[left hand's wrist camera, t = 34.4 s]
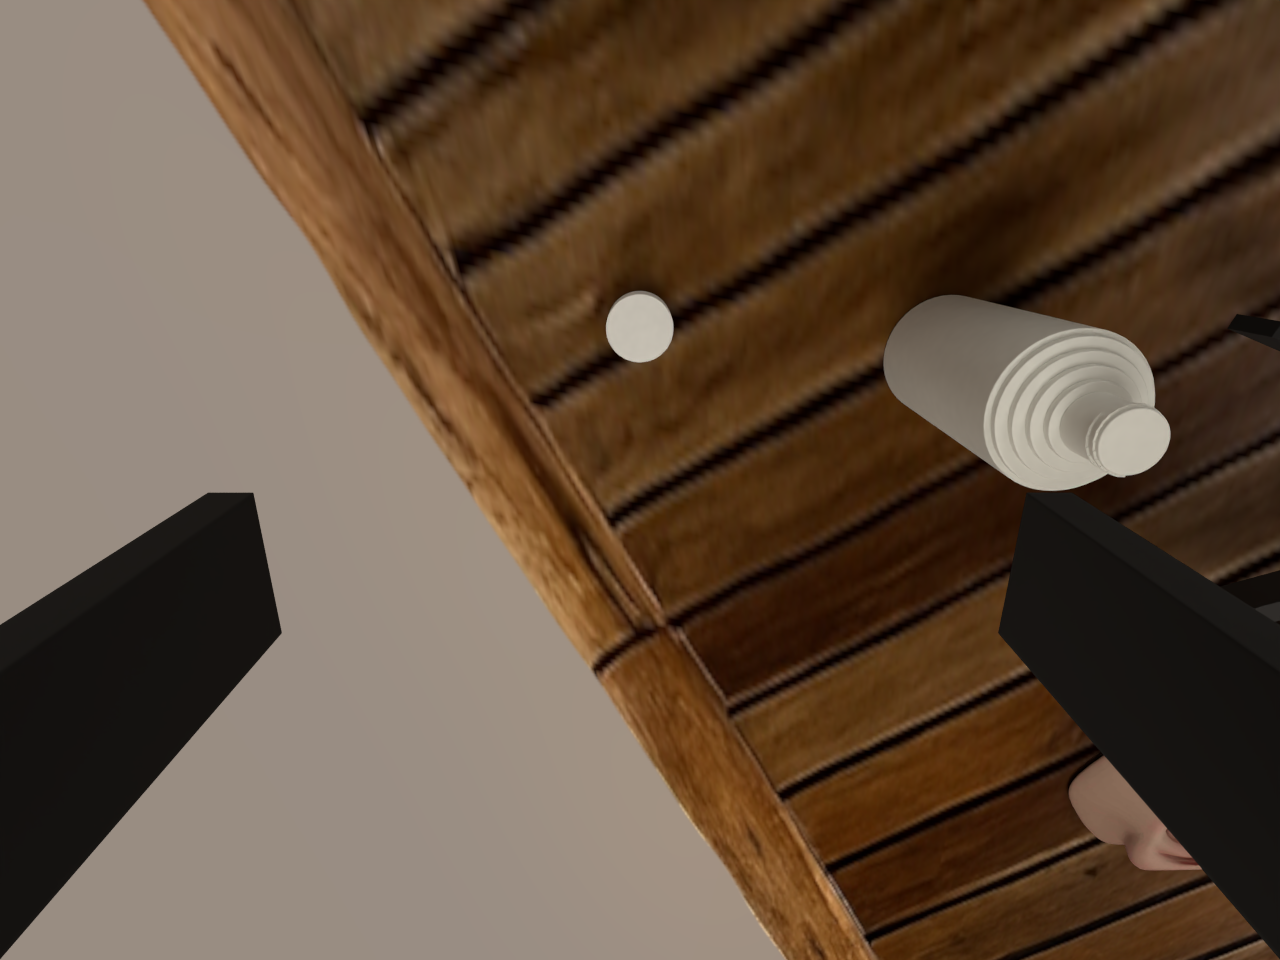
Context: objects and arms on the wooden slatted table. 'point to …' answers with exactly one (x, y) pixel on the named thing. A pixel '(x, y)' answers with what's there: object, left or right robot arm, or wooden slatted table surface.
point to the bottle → (1028, 391)
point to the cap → (639, 326)
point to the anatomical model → (1125, 819)
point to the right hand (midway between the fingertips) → (1166, 450)
